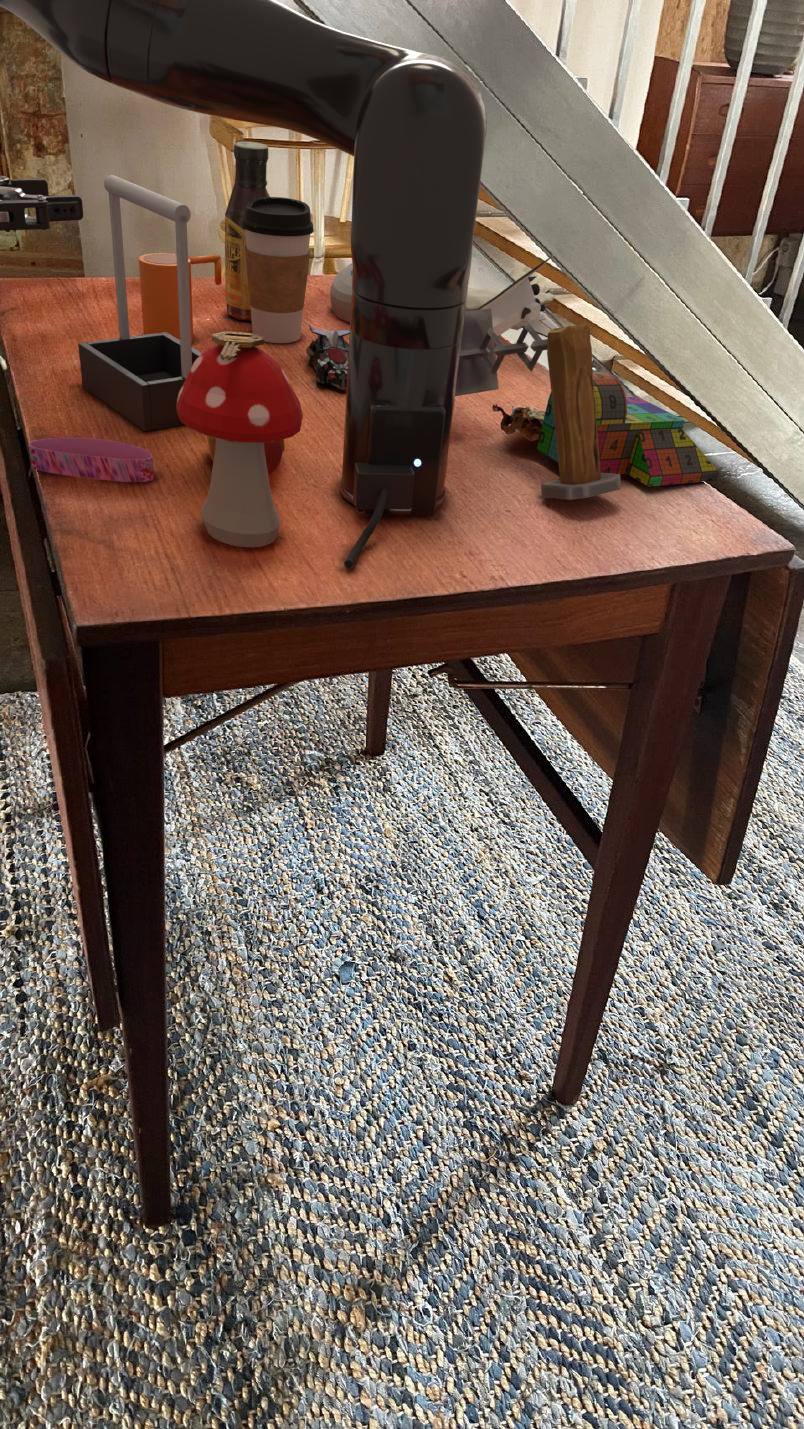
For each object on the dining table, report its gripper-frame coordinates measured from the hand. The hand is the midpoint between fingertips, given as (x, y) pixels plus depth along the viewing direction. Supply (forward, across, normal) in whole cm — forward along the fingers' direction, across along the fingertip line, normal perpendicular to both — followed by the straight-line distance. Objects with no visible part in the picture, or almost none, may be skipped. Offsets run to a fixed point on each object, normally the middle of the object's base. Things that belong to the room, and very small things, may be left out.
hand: (63, 198), depth 107 cm
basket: (0, -18, +16) cm, 24 cm away
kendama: (+1, -34, +16) cm, 37 cm away
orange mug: (+14, 0, +16) cm, 21 cm away
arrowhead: (+44, 0, +14) cm, 47 cm away
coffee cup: (+24, -4, +16) cm, 29 cm away
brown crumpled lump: (+30, -43, +10) cm, 53 cm away
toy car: (+22, -19, +16) cm, 33 cm away
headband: (-13, -31, +12) cm, 35 cm away
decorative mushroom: (-8, -48, +15) cm, 51 cm away
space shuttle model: (+44, -18, +11) cm, 49 cm away
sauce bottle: (+26, +4, +16) cm, 30 cm away
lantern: (+23, -43, +15) cm, 51 cm away
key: (-10, -50, 0) cm, 51 cm away
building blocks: (+32, -54, +15) cm, 65 cm away
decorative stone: (+45, -2, +13) cm, 47 cm away
